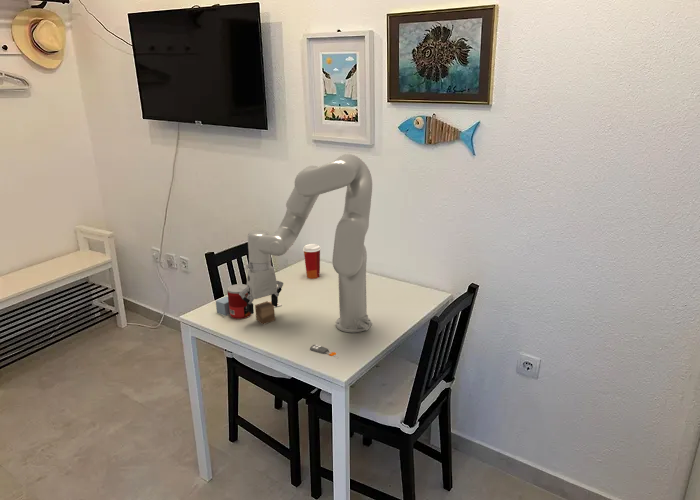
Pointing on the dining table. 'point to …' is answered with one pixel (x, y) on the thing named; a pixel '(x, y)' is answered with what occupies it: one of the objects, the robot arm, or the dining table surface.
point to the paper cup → (312, 260)
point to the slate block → (223, 306)
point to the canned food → (237, 302)
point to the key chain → (322, 350)
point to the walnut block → (265, 312)
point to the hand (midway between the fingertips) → (262, 309)
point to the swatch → (277, 304)
